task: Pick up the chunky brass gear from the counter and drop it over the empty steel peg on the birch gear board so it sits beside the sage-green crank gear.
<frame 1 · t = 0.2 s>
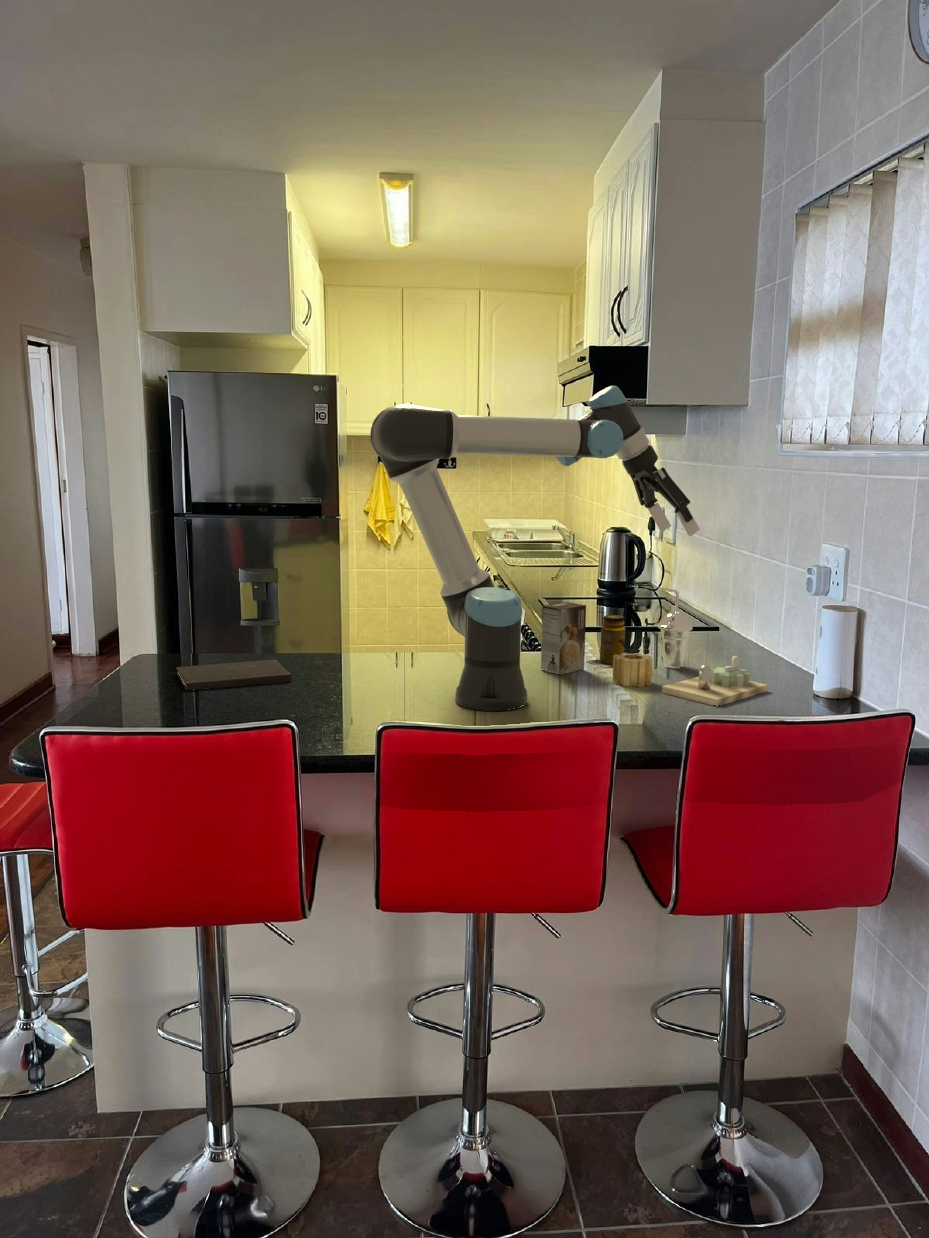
hand: (680, 531, 207), 35 cm above the counter, tool tilted 35°, fingers open, 13 cm apart
hardcover book: (233, 681, 206), on the counter
crank gear: (728, 681, 204), resting on gear board
steel peg: (704, 688, 198), resting on gear board
condiment: (608, 664, 227), on the counter
brown and white box: (562, 670, 219), on the counter
cup with straw: (671, 666, 225), on the counter
gear board: (715, 691, 201), on the counter
brass gear: (631, 682, 208), on the counter
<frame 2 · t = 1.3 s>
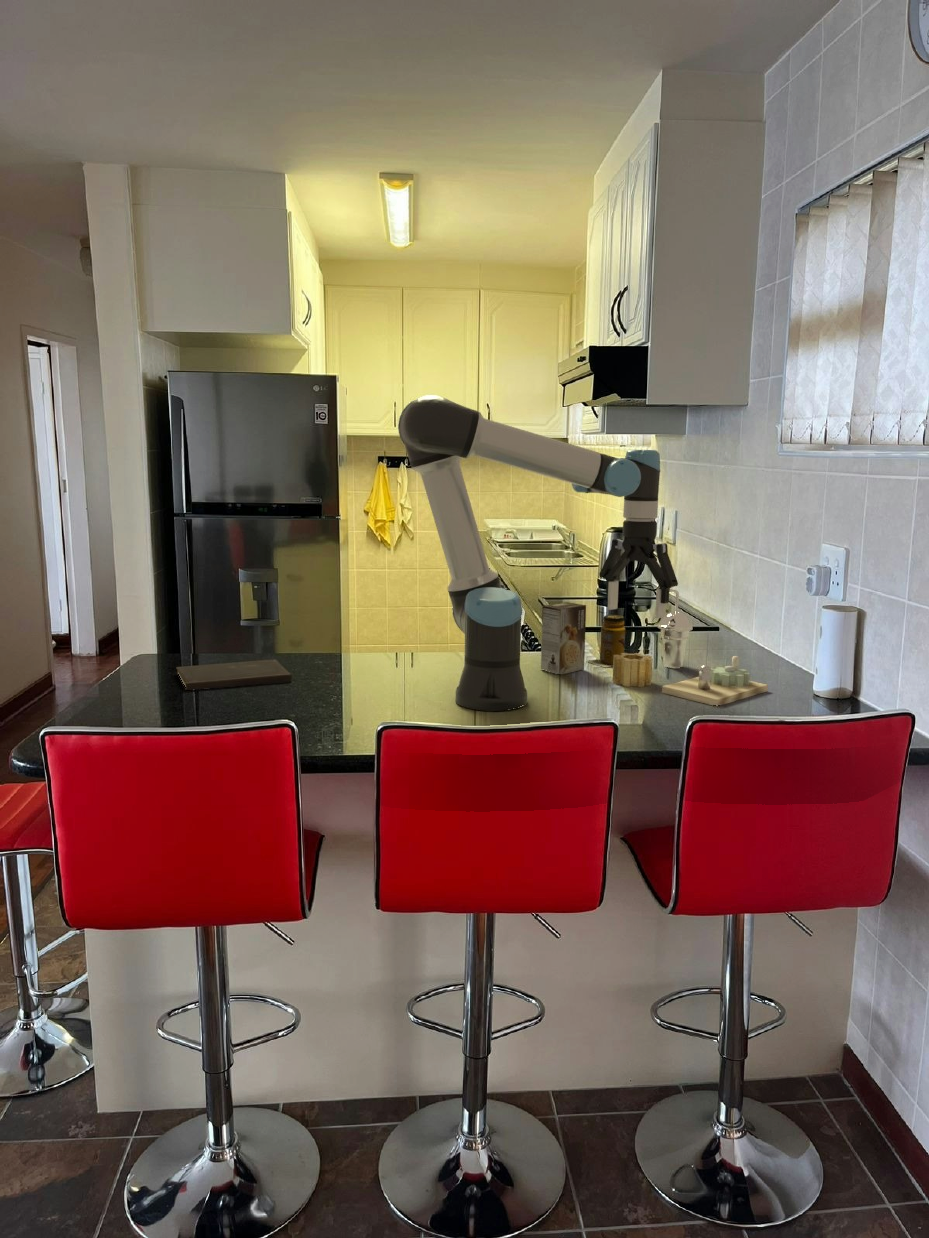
hand: (635, 613, 205), 16 cm above the counter, tool pointing down, fingers open, 13 cm apart
nothing on the counter moved.
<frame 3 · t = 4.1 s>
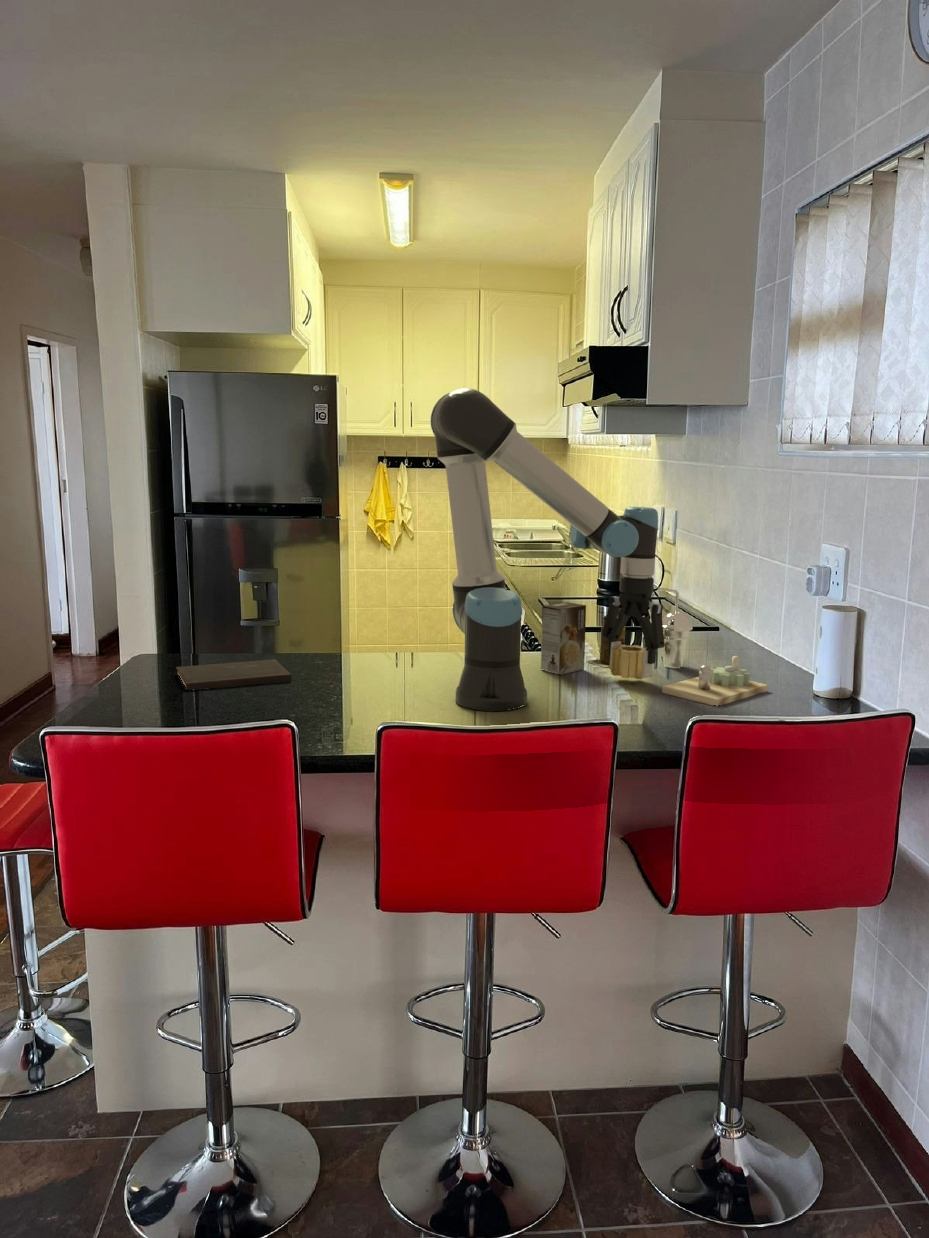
hand: (630, 672, 208), 2 cm above the counter, tool pointing down, fingers closed on brass gear, 9 cm apart
brass gear: (629, 674, 208), point 2 cm above the counter, touching gripper
everything else where it was.
when the fingers open (4 cm above the counter, at t = 8.9 s): brass gear drops 3 cm, resting on gear board.
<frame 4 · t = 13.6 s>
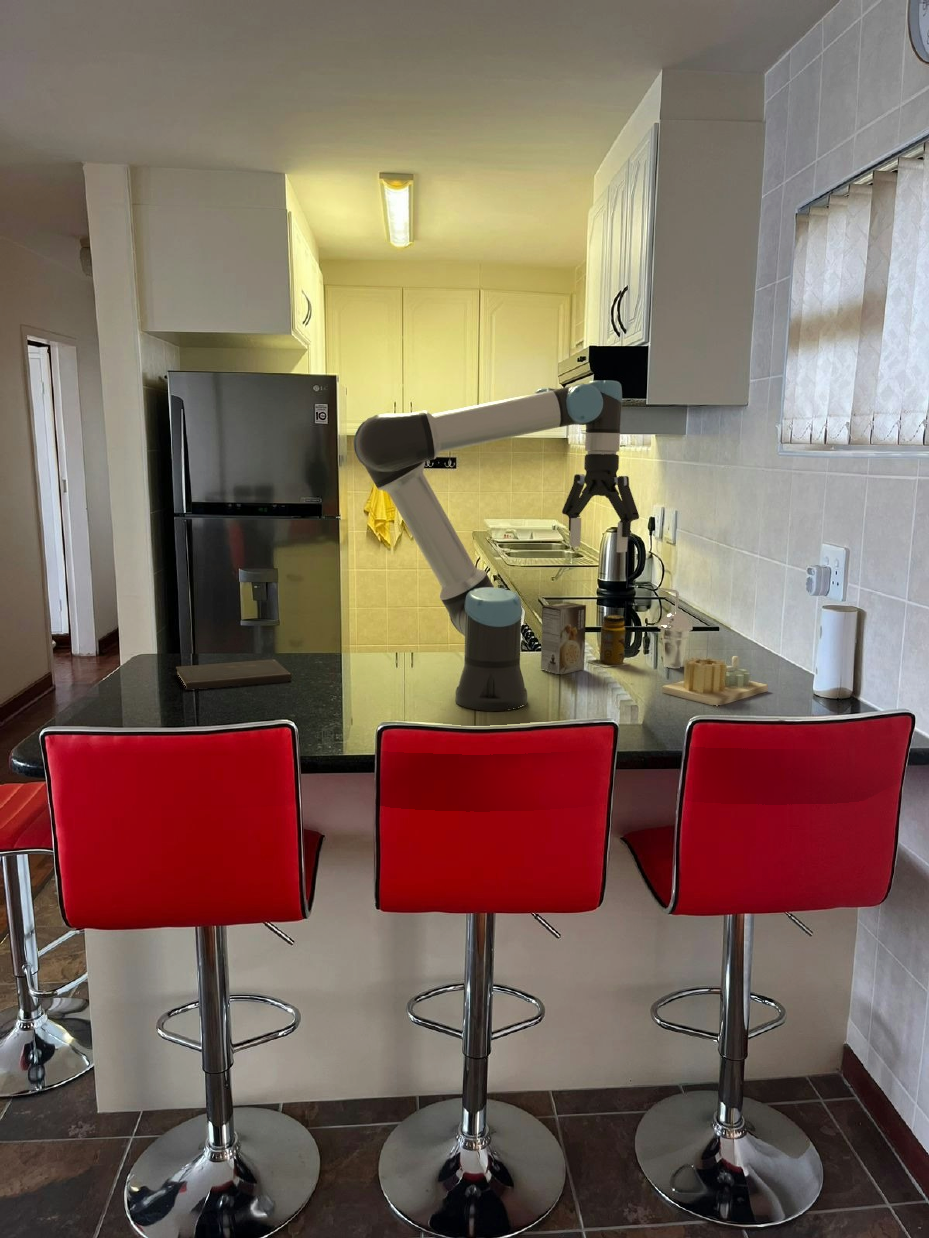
hand: (597, 549, 203), 31 cm above the counter, tool pointing down, fingers open, 13 cm apart
brass gear: (704, 688, 198), point 1 cm above the counter, touching gear board
everything else where it was.
at the end: brass gear 0.1 cm off-centre on the steel peg, point 0.0 cm above the steel peg's base; brass gear tilted 0°; the gripper is holding nothing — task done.
